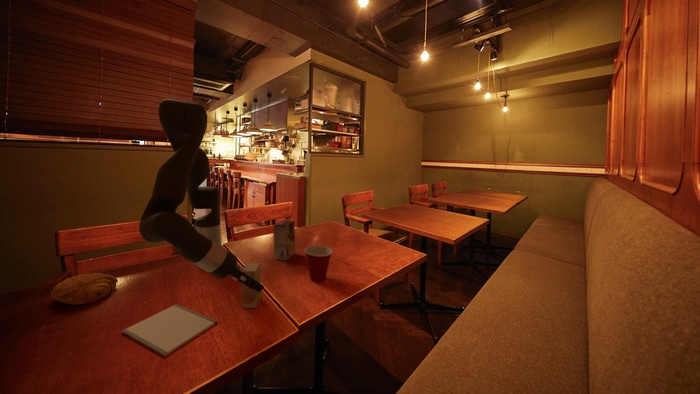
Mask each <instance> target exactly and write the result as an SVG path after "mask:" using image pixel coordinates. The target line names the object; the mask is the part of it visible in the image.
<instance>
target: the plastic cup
mask: <svg viewBox="0 0 700 394" xmlns="http://www.w3.org/2000/svg"><path fill="white" fill-rule="evenodd" d="M304 253H305V256H306V261H307V268H308V273H309V279H310V281H311V282H313V283H323V282H325V281H326V277H327V274H328V273H327V272H328V269H329V263H330V260H331V257H332V255H333V253H334V250H333V249H332V248H330V247H328V246H323V245H310V246H306V247H305V248H304Z"/></svg>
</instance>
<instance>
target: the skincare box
mask: <svg viewBox="0 0 700 394" xmlns="http://www.w3.org/2000/svg"><path fill="white" fill-rule="evenodd" d="M242 268H243V269H244V270H245V271H246V272H247V273H249V274H250V275H251V277H252V278H253V279H255V280H256V281H257V282H259V283H260V284H261V263H260V262H257V263H256V262H255V263H254V262H250V263H249V262H248V263H245V265H244V266H243V267H242ZM246 275H247V274H246ZM250 283H251V282H250ZM250 283H249V284H250ZM241 297H242V298H241V299H242V300H241V301H242V303H241V304H242V308H244V309H247V308H251V309H252V308H257V307H258V305H259V303H260V301H261V299H262V291H261V292H258V291H256V290H255V289H253V290H252V289H250V288H249V287H247V286H246V285H242V284H241Z"/></svg>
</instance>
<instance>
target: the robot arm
mask: <svg viewBox="0 0 700 394" xmlns="http://www.w3.org/2000/svg"><path fill="white" fill-rule="evenodd" d="M157 109H158V111H157V113H158V119H159V123H160V125H161V128H162V130H163V132H164V134H165V136H166V138H167V140H168V142H169V143H170V146H171V147H172V148H171V149H172V151H173V154H171V155H170V156H169V157H168V158H167V159H165V161H164V162H163V163H162V164H161V165H160V167H159V169H158V170H157V173H156V176H155V179H154V185H153V188H152V194H151V197H150V199H149V200H148V202H147V204H146V206H145V209H144V210H143V213H142V216H141V218H140V219H139V220H140V221H139V228H138V230H139V234H140V236H141V237H142V239H143V240H145V241H147V242H149V243H160V242H167V243H168V244H171V245H172V246H174V247H175V252H176V253H177V254H178V255H180V256H181V257H183V258H184V259H185V260H187V261H189V262H191V263H193V264H194V265H196V266H197V267H198V268H200V269H201V270H203V271H204V272H206V273H208V274H210V275H212V276H213V277H215V278H217V279H220V280H222V279H225V278H227V277H229V278H230V279H232V280H233V281H236V282H237V283H239V284H241V286H242V285H246V286H247V287H249V288H250V289H252V290H253V289H255V290H256V291H258V292H261V293H262V291H263V290H264V288H265V286H264V284H260V283H259V282H257V281H256V280H255V279H253V278H252V277H251V275H250V274H249V273H247V272H246V271H245V270H244V269H243V268H244V267H241V265H239V264H238V257H237V255H235V254H234V253H232V252H231V251H230V250H228V249H226V248H225V247H224V246H223V245H222V229H221V211H220V210H221V209H220V207H221V193H220V190H219V188H218V187H217V186H201V185H202V184H203V183H204V182H205V181H206V180H207V179H208V178H209V176H210V175H211V166H210V161H209V157H208V155H207V153H206V152H205V151H204V150H203V149H202V148H201V144H202V142H203V139H204V136H205V135H206V132H207V131H206V130H207V126H208V113H207V109H206V107H205V106H204V105H202V104H200V103H197V102H192V101H191V102H190V101H186V100H180V99H174V98H173V99H172V98H164V99H162V100H161V101H160V102H159V104H158V108H157ZM186 195H188V196H187V197H188V200H189V204H190V206H191V208H193V209H195V210H210V211H209V212H208V213H206V214H205V215H201V216H199V217H197V218H196V219H195V221H194V225H195V226H194V225H193V224H192V223H191V222H190V221H189V220H188V219H187V218H186V217H184V216H183V215H182V214H180V213H178V212H176V211H177V208H178V207H179V206H181V205H182V204H183V202H184V201H185V198H186ZM246 274H247V275H246ZM250 282H251V283H250ZM249 283H250V284H249Z"/></svg>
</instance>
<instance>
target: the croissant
mask: <svg viewBox="0 0 700 394" xmlns="http://www.w3.org/2000/svg"><path fill="white" fill-rule="evenodd" d="M118 282H119V280H118V278H116V276H114V275H111V274H108V273H104V272H102V273H101V272H100V273H96V272H95V273H93V272H92V273H82V274H81V273H80V274H77V275H74V276H71V277H69V278H66V279H65V280H63V281H61V282H59V283H57V284H56V285H54V287H53V289H52V291H51V294H50V295H51V298H52V299H54V300H56V301H58V302H61V303H64V304H67V305H73V306H74V305H75V306H76V305H77V306H79V304H80V305H86V304H88V303H94V302H97V301H99V300H100V299H103V298H104V297H107V296H109V294H110V293H111V292H110V291H112V290H114V289H115V290H116V288H117V285H118ZM115 290H114V291H115ZM109 292H110V293H109ZM112 292H113V291H112ZM106 295H107V296H106ZM96 300H97V301H96ZM85 303H86V304H85Z"/></svg>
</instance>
